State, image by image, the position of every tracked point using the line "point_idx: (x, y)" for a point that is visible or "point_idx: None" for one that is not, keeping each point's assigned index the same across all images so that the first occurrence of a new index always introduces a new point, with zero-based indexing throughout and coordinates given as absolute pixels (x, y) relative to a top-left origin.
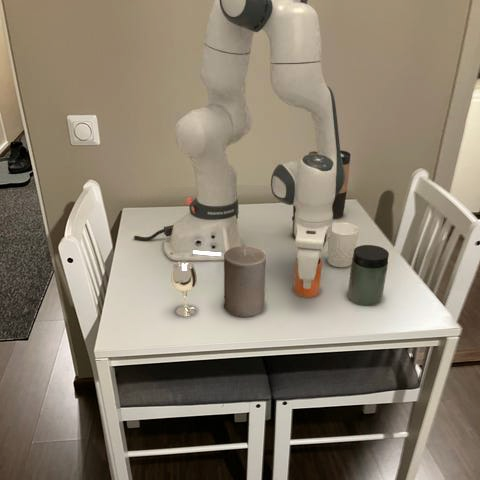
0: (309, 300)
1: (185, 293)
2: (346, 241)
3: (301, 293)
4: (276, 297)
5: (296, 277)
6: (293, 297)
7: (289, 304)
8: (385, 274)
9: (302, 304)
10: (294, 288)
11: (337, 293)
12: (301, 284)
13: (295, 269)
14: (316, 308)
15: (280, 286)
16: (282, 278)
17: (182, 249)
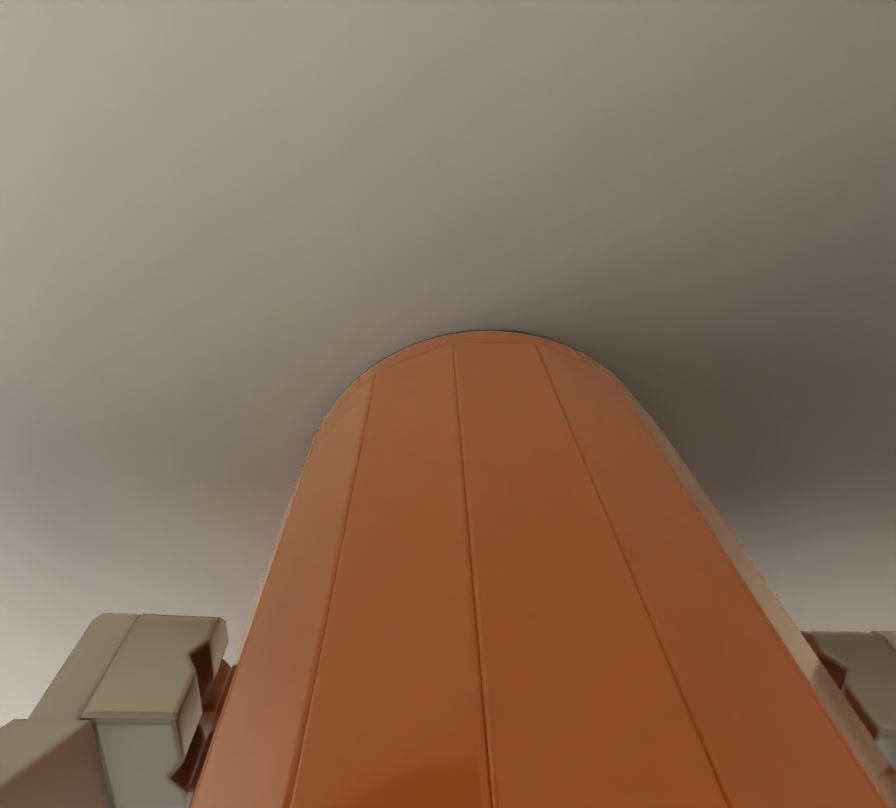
0: (229, 543)
1: None
2: None
3: (304, 464)
4: (156, 36)
5: (351, 514)
6: (247, 336)
7: (12, 292)
8: None
9: (90, 469)
10: (434, 354)
11: None
12: (272, 554)
13: (462, 591)
14: (61, 624)
15: (579, 78)
16: (887, 89)
17: None
